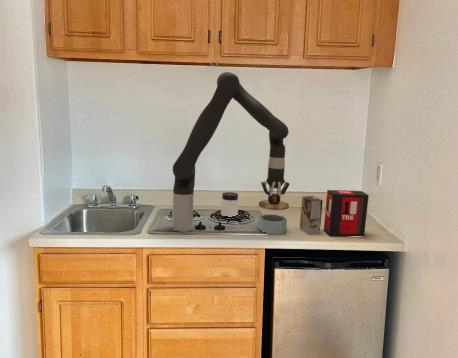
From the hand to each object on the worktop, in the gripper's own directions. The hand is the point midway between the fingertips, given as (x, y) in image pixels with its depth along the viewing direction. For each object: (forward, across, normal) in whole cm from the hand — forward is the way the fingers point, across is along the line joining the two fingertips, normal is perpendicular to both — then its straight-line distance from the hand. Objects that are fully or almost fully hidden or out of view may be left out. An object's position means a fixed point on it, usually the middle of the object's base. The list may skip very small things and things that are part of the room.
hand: (274, 202), depth 199 cm
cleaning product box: (+14, +33, -7) cm, 36 cm away
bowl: (+13, 0, 0) cm, 13 cm away
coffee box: (+14, +18, -2) cm, 23 cm away
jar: (+14, -16, +24) cm, 32 cm away
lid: (+2, 0, 0) cm, 2 cm away
